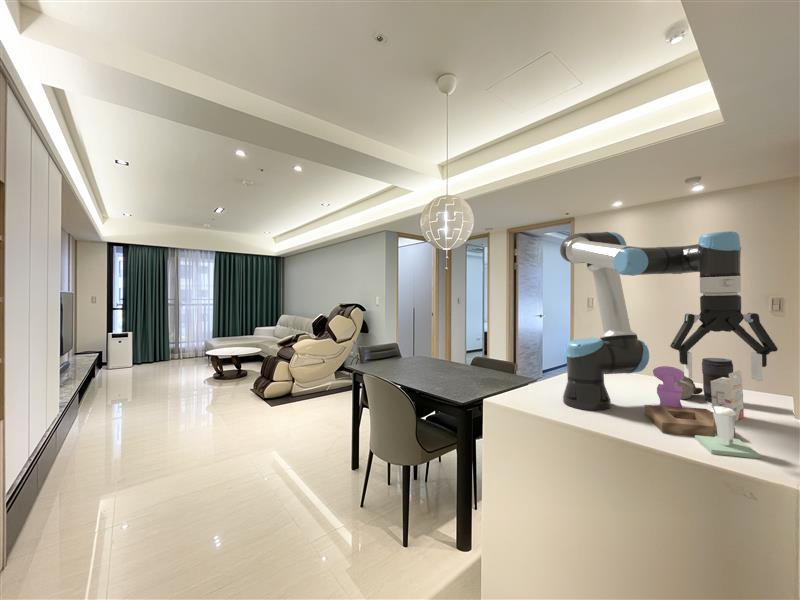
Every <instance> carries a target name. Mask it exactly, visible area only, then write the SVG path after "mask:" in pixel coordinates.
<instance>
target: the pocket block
mask: <svg viewBox="0 0 800 600" xmlns="http://www.w3.org/2000/svg"><path fill="white" fill-rule="evenodd" d="M644 415H646V417H647V418H648V419H649V420H650V421H651V422H652V423H653V424H654V425H655V427H656V428H657V429H658V430H660V432H661V433H663V434H671V435H683V436H694V437H695V435H698V436H709V437H715V433H714V426H713V419H712V413H711V410H709V409H707V408H701V407H699V408H697V407H685V406H682V407H671V406H660V405H655V404H654V405H653V404H644ZM734 439H736V427H734Z"/></svg>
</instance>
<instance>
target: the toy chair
mask: <svg viewBox="0 0 800 600" xmlns="http://www.w3.org/2000/svg"><path fill="white" fill-rule="evenodd" d="M652 374H653V376H654V377H655V378H656V379H658V380H659V381H661V382H662V383H659V384H658V385H657V387H656V393H657V397H658V399H659V401H660V402H659V406H671V407H683V405H682V402H681V399H680V398H681V394H682V391H683V390H682V386H674V385H675V383H676V382H679V381H680V380H682V379H683V378H684V370H682V369H679V368H677V367H673V366H669V365H665V366H663V365H662V366H658V367H655V368H653V370H652Z"/></svg>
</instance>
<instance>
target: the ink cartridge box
mask: <svg viewBox="0 0 800 600" xmlns="http://www.w3.org/2000/svg"><path fill="white" fill-rule="evenodd" d="M735 376H736V377H735ZM710 382H711V397H712V403H711V405H713V406H714V407H715V406H718V407H720V406H721V407H725V408H730V409H732V410H733V411H734V412H735V413H736V419H735V422H737V421H739V420H741V419H743V418H744V415H745V413H744V412H745V409H744V389H743V388H744V386H743V385H744V384H743V377H742V370H735V371H733V372H732V373H729V378H725V377H722V378H719V379H716V380H713V381H710Z"/></svg>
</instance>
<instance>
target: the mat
mask: <svg viewBox="0 0 800 600" xmlns="http://www.w3.org/2000/svg"><path fill="white" fill-rule="evenodd" d="M694 440H696V441H697V442H698V443H699V444H700V445H701V446H703V448H704V449H705V450H707V451H708V452H709V453H710V454H711V455H720V456H721V455H722V456H729V457H739V458H750V459H751V458H752V459H761V455H760V453H759V452H757V451H756V450H754V449H753V448H752V447H750V446H748V445H747V444H746V443H744V442H743V441H742V440H740V439H739V438H735V439H734V440H733V446H723V445H720V444H718V443H716V441H715V437H709V436H698V435H695V436H694Z"/></svg>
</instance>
